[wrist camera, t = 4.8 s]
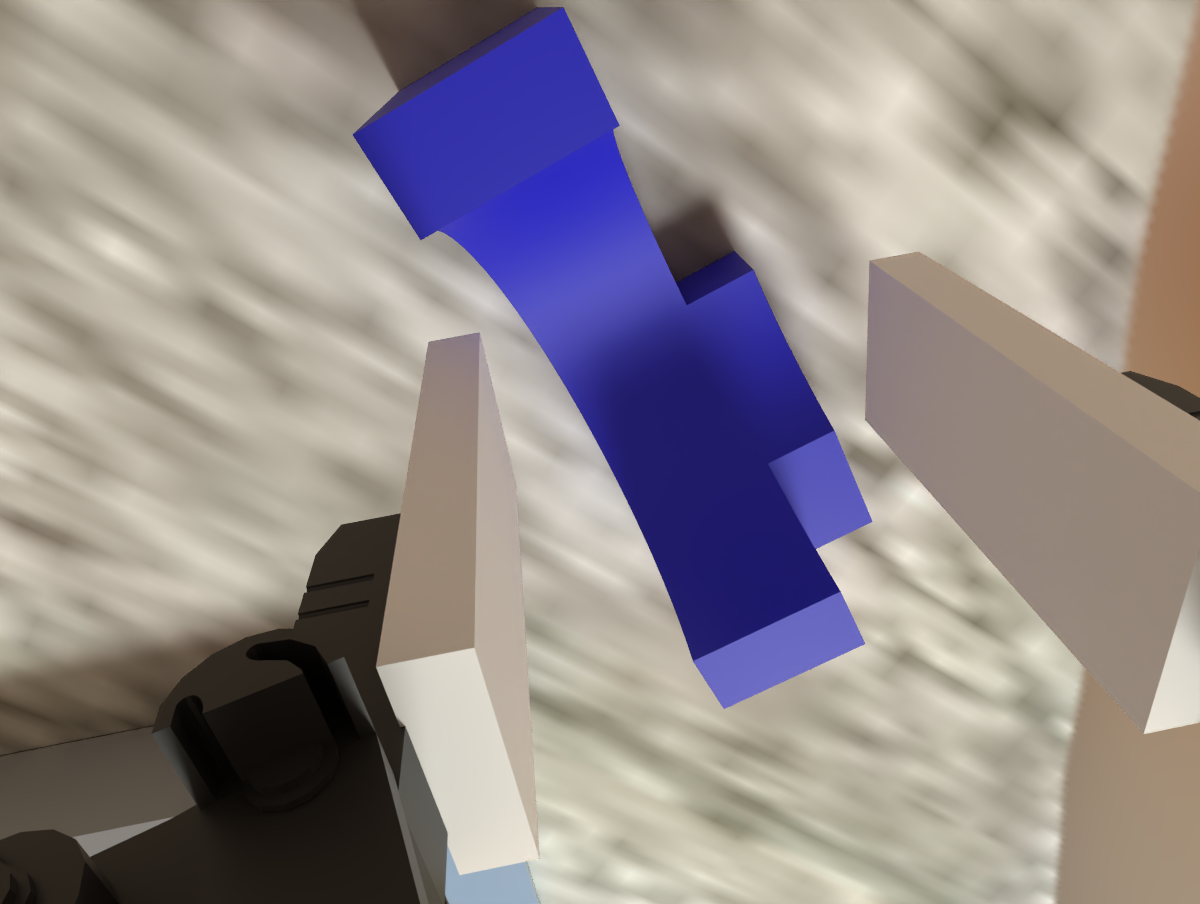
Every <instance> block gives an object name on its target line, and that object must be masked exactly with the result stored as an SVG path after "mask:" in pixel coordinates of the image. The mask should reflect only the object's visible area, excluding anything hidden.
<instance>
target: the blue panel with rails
mask: <svg viewBox="0 0 1200 904" xmlns="http://www.w3.org/2000/svg"><path fill="white" fill-rule="evenodd" d="M153 727H154V726H152V727H146V728H141V729H136V730H131V731H126V732H121V733H116V734H111V735H106V736H101V737H96V738H91V739H85V740H80V741H75V742H70V743H65V744H60V745H55V746H50V747H45V748H40V749H35V750H29V751H24V752H19V753H14V754H9V755H4V756H0V840H1V839H4V838H6V837H9V836H12V835H14V834H17V833H19V832H26V831H38V830H50V829H54V830H56V831H58V832H61V833H63V834H65V835H68V836H70V837H72V838H74V839H76V840H77V841H78V843H79V844H80V845H81V846H82V848H83V849H84V850H85V852H86V853H87V854H88V855H89V857H91V856H93V855H95V854H97V853H99V852H101V851H103V850H106V849H108V848H110V847H112V846H114V845H116V844H118V843H120V842H123V841H125V840H127V839H129V838H131V837H133V836H135V835H138V834H140V833H142V832H144V831H146V830H148V829H150V828H153V827H155V826H157V825H159V824H161V823H163V822H165V821H168V820H170V819H171V818H173V817H175V816H177V815H179V814H180V813H182V812H184V811H186V810H188V809H189V808H191V807H193V806H195V805H196V803H195V802H194V800H193V798H192V797H191V795H190V794H189V792H188V791H187V789H186V787H185V786H184V784H183V783H182V781H181V780H180V778H179V777H178V775H177V773H176V772H175V770H174V769H173V767H172V766H171V764H170V762H169V761H168V759H167V758H166V756H165V755H164V753H163V752H162V750H161V748H160V747H159V745H158V744H157V742H156V741H155V739H154V737H153V736H152V734H151V733H152V730H153ZM445 895H446V898H447V900H448V902H449V904H540V902H539V898H538V895H537V892H536V889H535V886H534V883H533V879H532V876H531V873H530V870H529V867H528V864H527V861H526V862H521V863H517V864H512V865H507V866H502V867H497V868H492V869H488V870H483V871H478V872H473V873H468V874H463V875H459V872H458V870H457V867H456V865H455V863H454V860H453V858H452V855H451V853H450V850H449V848H448V845H447V862H446V885H445Z"/></svg>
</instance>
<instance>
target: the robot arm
mask: <svg viewBox="0 0 1200 904" xmlns="http://www.w3.org/2000/svg"><path fill="white" fill-rule="evenodd" d="M865 420H866V421H867V422H868V423H869V424H870V426H871V427H872V428H873V429H874V430H875V431H876V432H877V434H878V435H879V436H880V437H881V438H882V439H883V440H884V441H885V443H886V444H887V445H888V446H889V447H890V448H891V449H892V450H893V452H894V453H895V454H896V455H897V456H898V457H899V458H900V459H901V461H902V462H903V463H904V464H905V465H906V466H907V467H908V468H909V470H910V471H911V472H912V473H913V474H914V475H915V476H916V478H917V479H918V480H919V481H920V482H921V483H922V484H923V485H924V487H925V488H926V489H927V490H928V491H929V492H930V493H931V494H932V496H933V497H934V498H935V499H936V500H937V501H938V502H939V503H940V505H941V506H942V507H943V508H944V509H945V510H946V511H947V513H948V514H949V515H950V516H951V517H952V518H953V519H954V520H955V522H956V523H957V524H958V525H959V526H960V527H961V528H962V529H963V531H964V532H965V533H966V534H967V535H968V536H969V537H970V538H971V540H972V541H973V542H974V543H975V544H976V545H977V546H978V548H979V549H980V550H981V551H982V552H983V553H984V554H985V555H986V557H987V558H988V559H989V560H990V561H991V562H992V563H993V564H994V566H995V567H996V568H997V569H998V570H999V571H1000V572H1001V573H1002V575H1003V576H1004V577H1005V578H1006V579H1007V580H1008V581H1009V582H1010V584H1011V585H1012V586H1013V587H1014V588H1015V589H1016V590H1017V592H1018V593H1019V594H1020V595H1021V596H1022V597H1023V598H1024V599H1025V601H1026V602H1027V603H1028V604H1029V605H1030V606H1031V607H1032V608H1033V610H1034V611H1035V612H1036V613H1037V614H1038V615H1039V616H1040V617H1041V619H1042V620H1043V621H1044V622H1045V623H1046V624H1047V625H1048V627H1049V628H1050V629H1051V630H1052V631H1053V632H1054V633H1055V634H1056V636H1057V637H1058V638H1059V639H1060V640H1061V641H1062V642H1063V643H1064V645H1065V646H1066V647H1067V648H1068V649H1069V650H1070V651H1071V652H1072V654H1073V655H1074V656H1075V657H1076V658H1077V659H1078V660H1079V662H1080V663H1081V664H1082V665H1083V666H1084V667H1085V668H1086V669H1087V671H1088V672H1089V673H1090V674H1091V675H1092V676H1093V677H1094V678H1095V679H1096V681H1097V682H1098V683H1099V684H1100V685H1101V686H1102V687H1103V689H1104V690H1105V691H1106V692H1107V693H1108V694H1109V695H1110V696H1111V698H1112V699H1113V700H1114V701H1115V702H1116V703H1117V704H1118V706H1119V707H1120V708H1121V709H1122V710H1123V711H1124V712H1125V713H1126V715H1127V716H1128V717H1129V718H1130V719H1131V720H1132V721H1133V722H1134V723H1135V725H1136V726H1137V727H1138V728H1139V729H1140V730H1141V731H1142V733H1143V734H1146V733H1151V732H1156V731H1160V730H1165V729H1170V728H1175V727H1180V726H1185V725H1189V724H1195V723H1199V722H1200V398H1198V397H1197V396H1195V395H1193V394H1191V393H1190V392H1188V391H1186V390H1184V389H1183V388H1181V387H1179V386H1177V385H1173V384H1170V383H1167V382H1164V381H1160V380H1157V379H1154V378H1151V377H1148V376H1145V375H1141V374H1138V373H1135V372H1132V371H1129V372H1123V373H1120V372H1118V371H1116V370H1115V369H1113V368H1111V367H1110V366H1108V365H1106V364H1105V363H1103V362H1101V361H1100V360H1098V359H1096V358H1095V357H1093V356H1091V355H1090V354H1088V353H1086V352H1085V351H1083V350H1081V349H1080V348H1078V347H1076V346H1075V345H1073V344H1071V343H1070V342H1068V341H1066V340H1065V339H1063V338H1061V337H1060V336H1058V335H1056V334H1055V333H1053V332H1051V331H1050V330H1048V329H1046V328H1045V327H1043V326H1042V325H1040V324H1038V323H1037V322H1035V321H1033V320H1032V319H1030V318H1028V317H1027V316H1025V315H1023V314H1022V313H1020V312H1018V311H1017V310H1015V309H1013V308H1012V307H1010V306H1008V305H1007V304H1005V303H1003V302H1002V301H1000V300H998V299H997V298H995V297H993V296H992V295H990V294H988V293H987V292H985V291H983V290H982V289H980V288H978V287H977V286H975V285H973V284H972V283H970V282H968V281H967V280H965V279H963V278H962V277H960V276H958V275H957V274H955V273H953V272H952V271H950V270H948V269H947V268H945V267H943V266H942V265H940V264H938V263H937V262H935V261H933V260H932V259H930V258H928V257H927V256H925V255H923V254H922V253H920V252H914V253H909V254H904V255H898V256H893V257H887V258H882V259H876V260H871V261H870V265H869V302H868V338H867V374H866V410H865ZM306 588H307V593H304V595H303V599H302V602H301V605H300V609H299V612H298V615H299V620H296V622H295V625H294V629H277V630H273V631H269V632H265V633H261V634H258V635H254V636H250V637H246V638H244V639H242V640H240V641H238V642H236V643H234V644H232V645H230V646H228V647H226V648H224V649H222V650H220V651H218V652H216V653H214V654H212V655H211V656H210V657H208V658H207V659H206V660H205V661H203V662H202V663H201V664H200V665H198V666H197V667H196V668H194V669H193V670H192V671H191V672H189V673H188V674H187V675H186V676H184V677H183V678H182V679H181V680H180V682H179V683H178V684H177V685H176V687H175V688H174V689H173V691H172V692H171V693H170V694H169V696H168V697H167V698H166V700H165V701H164V702H163V703H162V705H161V706H160V709H159V712H158V715H157V718H156V721H155V724H154V727H153V730H152V733H151V734H152V736H153V737H154V739H155V741H156V742H157V744H158V745H159V747H160V748H161V750H162V752H163V753H164V755H165V756H166V758H167V759H168V761H169V762H170V764H171V766H172V767H173V769H174V770H175V772H176V773H177V775H178V777H179V778H180V780H181V781H182V783H183V784H184V786H185V787H186V789H187V791H188V792H189V794H190V795H191V797H192V798H193V800H194V802H195V803H196V805H195V806H193V807H191V808H189V809H188V810H186V811H184V812H182V813H180V814H179V815H177V816H175V817H173V818H171V819H170V820H168V821H165V822H163V823H161V824H159V825H157V826H155V827H153V828H150V829H148V830H146V831H144V832H142V833H140V834H138V835H135V836H133V837H131V838H129V839H127V840H125V841H123V842H120V843H118V844H116V845H114V846H112V847H110V848H108V849H106V850H103V851H101V852H99V853H97V854H95V855H93V856H91V857H89V855H88V854H87V853H86V852H85V850H84V849H83V848H82V846H81V845H80V844H79V843H78V841H77V840H76V839H74V838H72V837H70V836H68V835H65V834H63V833H61V832H58V831H56V830H54V829H50V830H38V831H26V832H19V833H17V834H14V835H12V836H9V837H6V838H4V839H1V840H0V904H449V902H448V900H447V898H446V895H445V885H446V862H447V845H448V848H449V850H450V853H451V855H452V858H453V860H454V863H455V865H456V867H457V870H458V872H459V875H463V874H468V873H473V872H478V871H483V870H488V869H492V868H497V867H502V866H507V865H512V864H517V863H521V862H526V861H531V860H536V859H540V858H539V842H538V826H537V810H536V794H535V778H534V762H533V746H532V730H531V714H530V698H529V682H528V666H527V650H526V634H525V618H524V602H523V585H522V569H521V553H520V537H519V521H518V505H517V489H516V483H515V479H514V474H513V470H512V466H511V462H510V458H509V453H508V449H507V445H506V441H505V437H504V432H503V428H502V424H501V420H500V416H499V412H498V407H497V403H496V399H495V395H494V391H493V386H492V382H491V378H490V374H489V370H488V365H487V361H486V357H485V353H484V349H483V344H482V340H481V336H480V333H474V334H469V335H464V336H458V337H453V338H447V339H442V340H436V341H431V342H429V343H428V349H427V355H426V361H425V367H424V374H423V380H422V386H421V392H420V398H419V404H418V411H417V417H416V423H415V429H414V435H413V441H412V448H411V454H410V460H409V466H408V472H407V478H406V485H405V491H404V497H403V503H402V509H401V513H400V514H395V515H390V516H385V517H379V518H374V519H369V520H364V521H358V522H353V523H348V524H343V525H341V526H340V527H339V528H338V529H337V531H336V532H335V533H334V534H333V535H332V536H331V538H330V539H329V540H328V541H327V542H326V543H325V545H324V546H323V547H322V548H321V549H320V551H319V552H318V553H317V554H316V556H315V559H314V562H313V566H312V569H311V572H310V576H309V579H308V582H307V585H306Z"/></svg>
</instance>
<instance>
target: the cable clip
mask: <svg viewBox="0 0 1200 904" xmlns="http://www.w3.org/2000/svg"><path fill="white" fill-rule="evenodd" d="M618 126H619V124H618V121H617V119H616V117H615V115H614V113H613V111H612V109H611V107H610V105H609V102H608V100H607V98H606V96H605V94H604V92H603V90H602V88H601V86H600V83H599V81H598V79H597V77H596V75H595V73H594V71H593V69H592V67H591V64H590V62H589V60H588V58H587V56H586V54H585V52H584V50H583V48H582V46H581V43H580V41H579V39H578V37H577V35H576V33H575V31H574V29H573V27H572V24H571V22H570V20H569V18H568V16H567V14H566V12H565V10H564V8H563V7H543V8H536V9H534V10H532V11H531V12H529V13H527V14H526V15H524V16H522V17H521V18H519V19H517V20H516V21H514V22H513V23H511V24H509V25H508V26H506V27H504V28H503V29H501V30H499V31H498V32H496V33H494V34H493V35H491V36H489V37H488V38H486V39H485V40H483V41H481V42H480V43H478V44H476V45H475V46H473V47H471V48H470V49H468V50H466V51H465V52H463V53H461V54H460V55H458V56H457V57H455V58H453V59H452V60H450V61H448V62H447V63H445V64H443V65H442V66H440V67H438V68H437V69H435V70H434V71H432V72H430V73H429V74H427V75H425V76H424V77H422V78H420V79H419V80H417V81H415V82H414V83H412V84H410V85H409V86H407V87H406V88H404V89H402V90H401V91H399V92H398V93H397V94H396V95H395V96H394V97H392V98H391V99H390V100H389V101H388V102H387V103H386V104H385V105H384V106H383V107H382V108H381V109H380V110H379V111H377V112H376V113H375V114H374V115H373V116H372V117H371V118H370V119H369V120H368V121H367V122H366V123H365V124H363V125H362V126H361V127H360V128H359V129H358V130H357V131H356V132H355V133H354V134H353V136H354V138H355V139H356V141H357V142H358V144H359V145H360V147H361V149H362V150H363V152H364V153H365V155H366V156H367V158H368V159H369V161H370V162H371V164H372V166H373V167H374V169H375V170H376V172H377V173H378V175H379V176H380V178H381V179H382V181H383V183H384V184H385V186H386V187H387V189H388V190H389V192H390V193H391V195H392V196H393V198H394V200H395V201H396V203H397V204H398V206H399V207H400V209H401V210H402V212H403V213H404V215H405V217H406V218H407V220H408V221H409V223H410V224H411V226H412V227H413V229H414V230H415V232H416V234H417V235H418V237H419V238H420V240H422V239H424V238H425V237H427V236H429V235H431V234H432V233H434V232H436V231H441V232H443V233H445V234H447V235H448V236H450V237H451V238H453V239H454V240H455V241H457V242H458V243H459V244H460V245H461V246H463V247H464V248H465V249H466V250H467V251H468V252H469V253H470V254H471V255H472V256H473V257H474V258H475V259H476V260H477V262H478V263H479V264H480V265H481V266H482V267H483V268H484V269H485V271H486V272H487V273H488V274H489V275H490V277H491V278H492V279H493V280H494V281H495V283H496V284H497V285H498V287H499V288H500V289H501V290H502V292H503V293H504V294H505V296H506V297H507V298H508V300H509V301H510V302H511V304H512V305H513V307H514V308H515V309H516V311H517V312H518V313H519V315H520V316H521V318H522V319H523V321H524V322H525V324H526V325H527V326H528V328H529V329H530V331H531V332H532V334H533V335H534V337H535V338H536V340H537V341H538V343H539V345H540V346H541V348H542V349H543V351H544V352H545V354H546V355H547V357H548V359H549V360H550V362H551V363H552V365H553V367H554V368H555V370H556V372H557V373H558V375H559V376H560V378H561V380H562V381H563V383H564V385H565V386H566V388H567V390H568V391H569V393H570V395H571V397H572V398H573V400H574V402H575V403H576V405H577V407H578V409H579V410H580V412H581V414H582V416H583V418H584V419H585V421H586V423H587V425H588V427H589V428H590V430H591V432H592V434H593V436H594V437H595V439H596V441H597V443H598V445H599V447H600V449H601V450H602V452H603V454H604V456H605V458H606V460H607V462H608V464H609V466H610V468H611V470H612V472H613V474H614V475H615V477H616V479H617V481H618V483H619V485H620V487H621V489H622V491H623V493H624V495H625V497H626V499H627V501H628V504H629V506H630V508H631V510H632V512H633V514H634V516H635V518H636V520H637V522H638V525H639V527H640V529H641V531H642V533H643V535H644V538H645V540H646V542H647V544H648V546H649V549H650V551H651V553H652V555H653V558H654V560H655V562H656V565H657V567H658V569H659V572H660V574H661V576H662V579H663V581H664V584H665V586H666V588H667V591H668V593H669V596H670V598H671V601H672V603H673V606H674V609H675V611H676V614H677V617H678V619H679V622H680V624H681V627H682V630H683V633H684V636H685V639H686V641H687V644H688V647H689V650H690V653H691V656H692V659H693V662H694V663H695V665H696V667H697V668H698V670H699V671H700V673H701V674H702V676H703V677H704V679H705V680H706V682H707V684H708V685H709V687H710V688H711V690H712V691H713V693H714V694H715V696H716V697H717V699H718V701H719V702H720V704H721V705H722V707H723V708H724V709H725V708H727V707H729V706H732V705H734V704H736V703H738V702H740V701H742V700H745V699H747V698H749V697H751V696H753V695H755V694H758V693H760V692H762V691H764V690H766V689H768V688H771V687H773V686H775V685H777V684H779V683H781V682H784V681H786V680H788V679H790V678H792V677H794V676H797V675H799V674H801V673H803V672H805V671H807V670H810V669H812V668H814V667H816V666H818V665H820V664H823V663H825V662H827V661H829V660H831V659H834V658H836V657H838V656H840V655H842V654H844V653H847V652H849V651H851V650H853V649H855V648H857V647H860V646H862V645H864V644H865V642H864V640H863V638H862V636H861V634H860V632H859V630H858V627H857V625H856V623H855V621H854V619H853V617H852V615H851V613H850V611H849V609H848V606H847V604H846V602H845V600H844V598H843V596H842V594H841V592H840V590H839V588H838V587H837V585H836V583H835V582H834V580H833V578H832V577H831V575H830V573H829V571H828V570H827V568H826V566H825V565H824V563H823V561H822V559H821V558H820V556H819V554H818V553H817V551H816V549H817V548H819V547H821V546H823V545H825V544H827V543H829V542H831V541H833V540H835V539H837V538H840V537H842V536H844V535H846V534H848V533H850V532H852V531H854V530H856V529H858V528H860V527H862V526H864V525H867V524H869V523H871V522H872V519H871V517H870V515H869V512H868V510H867V507H866V505H865V503H864V500H863V498H862V495H861V493H860V491H859V488H858V486H857V483H856V481H855V479H854V476H853V474H852V472H851V469H850V467H849V464H848V462H847V460H846V457H845V455H844V452H843V450H842V448H841V445H840V443H839V441H838V438H837V436H836V433H835V431H834V429H833V427H832V426H831V424H830V422H829V420H828V419H827V417H826V415H825V413H824V412H823V410H822V408H821V406H820V404H819V403H818V401H817V399H816V397H815V395H814V393H813V392H812V390H811V388H810V386H809V384H808V382H807V380H806V379H805V377H804V375H803V373H802V371H801V369H800V367H799V365H798V363H797V361H796V359H795V357H794V355H793V353H792V351H791V349H790V347H789V346H788V344H787V342H786V339H785V337H784V335H783V333H782V331H781V329H780V327H779V325H778V323H777V321H776V319H775V317H774V315H773V312H772V310H771V308H770V306H769V304H768V302H767V300H766V297H765V295H764V293H763V291H762V288H761V286H760V284H759V282H758V280H757V277H756V275H755V273H754V270H753V269H752V268H751V267H750V266H749V265H748V264H747V263H746V262H745V261H744V260H743V259H742V258H741V257H740V256H739V255H738V254H737V253H736V252H735V251H734V252H732V253H730V254H728V255H726V256H724V257H723V258H721V259H719V260H717V261H715V262H713V263H711V264H710V265H708V266H706V267H704V268H702V269H700V270H699V271H697V272H695V273H693V274H691V275H689V276H687V277H686V278H684V279H682V280H680V281H678V282H675V280H674V278H673V276H672V274H671V272H670V270H669V267H668V265H667V263H666V261H665V259H664V257H663V255H662V252H661V250H660V248H659V246H658V244H657V242H656V239H655V237H654V235H653V233H652V231H651V228H650V226H649V224H648V222H647V219H646V217H645V215H644V213H643V210H642V208H641V206H640V203H639V201H638V199H637V196H636V194H635V192H634V189H633V187H632V184H631V182H630V180H629V177H628V175H627V172H626V170H625V167H624V164H623V162H622V159H621V156H620V153H619V150H618V147H617V144H616V141H615V137H614V133H613V129H614V128H616V127H618Z"/></svg>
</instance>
